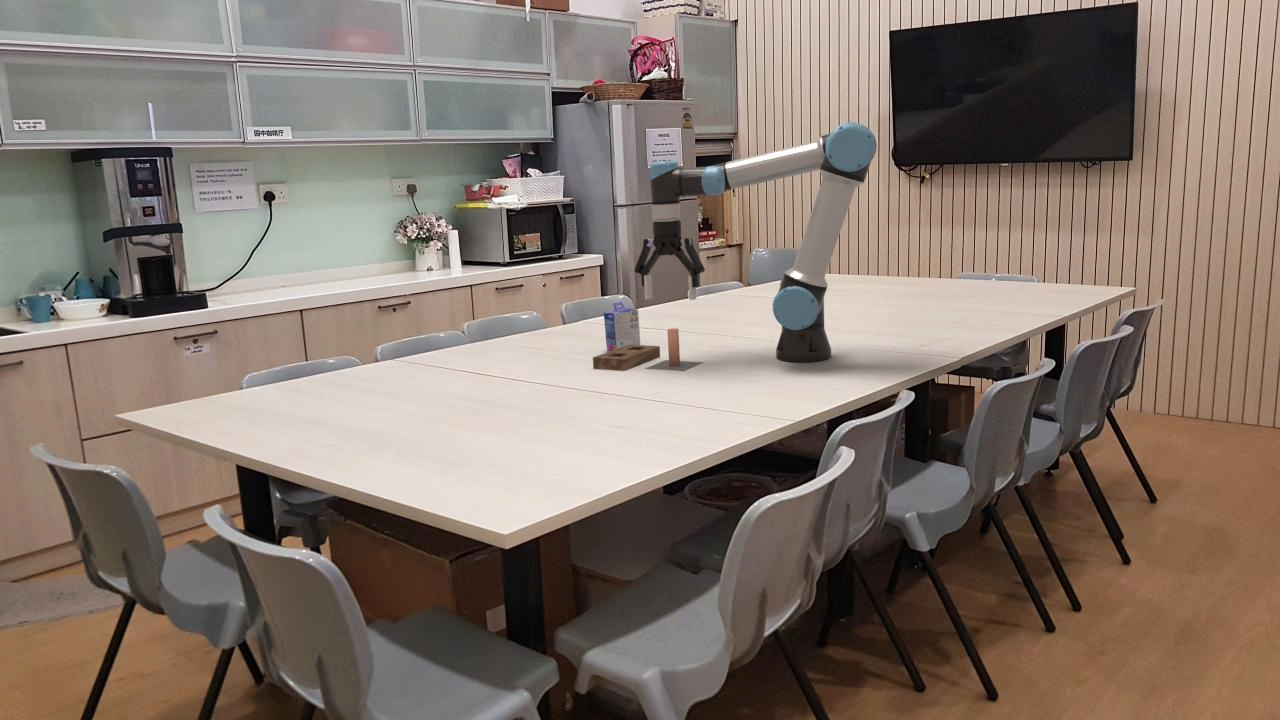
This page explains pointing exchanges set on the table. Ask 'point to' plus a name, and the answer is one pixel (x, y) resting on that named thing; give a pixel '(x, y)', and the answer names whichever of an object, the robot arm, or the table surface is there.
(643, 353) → the socket block
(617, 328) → the ink cartridge box
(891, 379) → the table surface
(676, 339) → the peg
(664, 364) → the mat
